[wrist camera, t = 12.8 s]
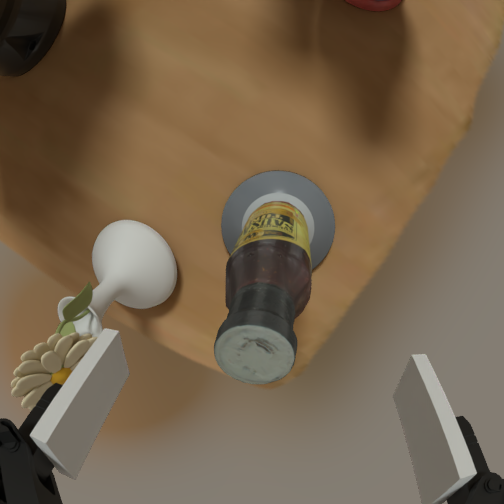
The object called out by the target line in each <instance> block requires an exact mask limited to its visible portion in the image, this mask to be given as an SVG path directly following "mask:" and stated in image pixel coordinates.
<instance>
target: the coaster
mask: <svg viewBox="0 0 504 504" xmlns="http://www.w3.org/2000/svg"><path fill="white" fill-rule="evenodd" d="M271 201H284V202H289V203H290V204H292V205H293V206H295V207H296V208H297V209H299V210H300V211H301V213H302V214H303V215H304V218H305V220H306V223H307V226H308V233H309V244H310V255H311V265H312V269H314V268H315V267H316V266H317V265H318V264H319V263H320V262H321V261H322V260H323V259H324V257H325V256H326V255H327V253H328V251H329V249H330V247H331V245H332V242H333V238H334V233H335V219H334V214H333V210H332V208H331V205H330V203H329V201H328V199H327V198H326V196H325V195H324V193H323V192H322V191H321V189H320V188H319V187H318V186H317V185H316V184H314V183H313V182H312V181H310V180H309V179H307V178H306V177H304V176H301V175H299V174H296V173H293V172H289V171H279V170H274V171H267V172H263V173H259V174H257V175H254V176H252V177H250V178H249V179H247V180H245V181H244V182H243V183H242V184H240V185H239V186H238V187H237V188H236V189H235V191H234V192H233V193H232V194H231V196H230V197H229V199H228V201H227V203H226V205H225V208H224V210H223V215H222V223H221V227H222V236H223V240H224V243H225V246H226V248H227V250H228V252H229V253H230V255H231V253H232V251H233V249H234V247H235V245H236V243H237V241H238V239H239V236H240V234H241V233H242V231H243V228H244V226H245V224H246V222H247V220H248V218H249V217H250V215H251V214H252V212H253V211H254V210H256V209H257V208H258V207H260V206H261V205H263V204H264V203H268V202H271Z"/></svg>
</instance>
